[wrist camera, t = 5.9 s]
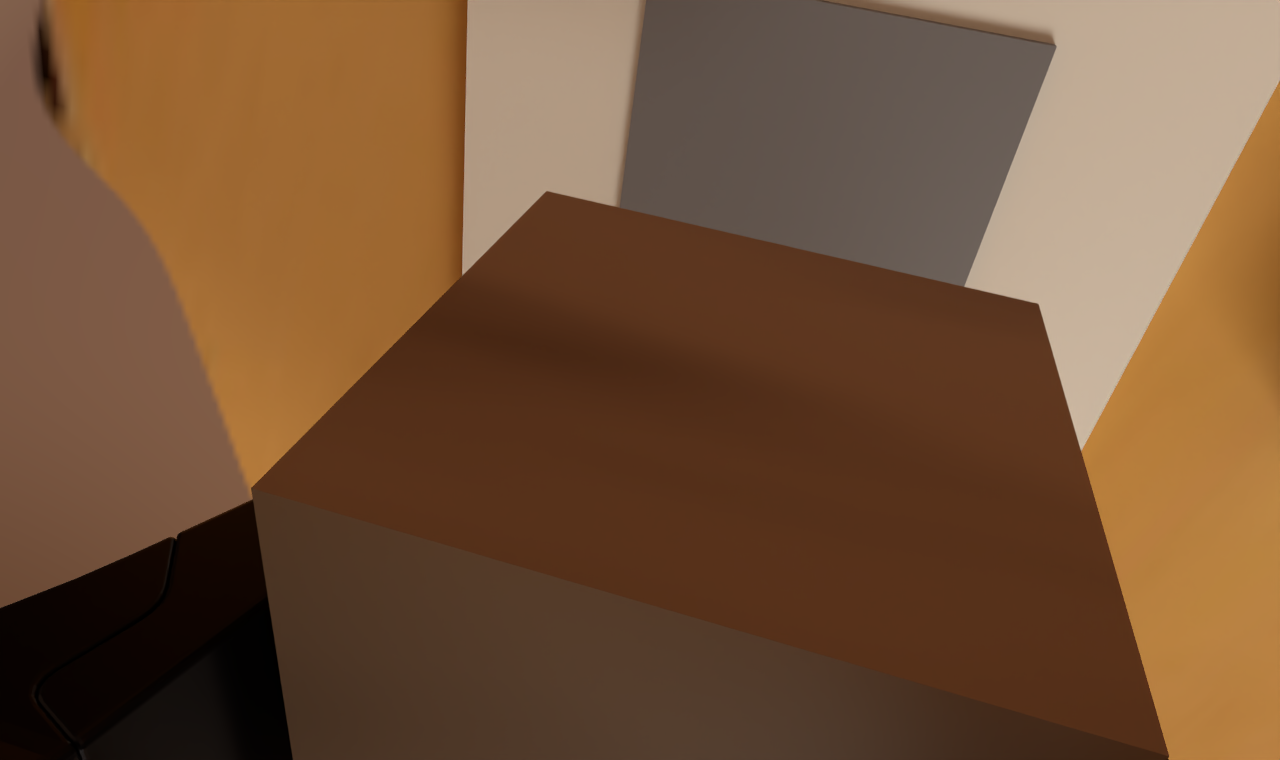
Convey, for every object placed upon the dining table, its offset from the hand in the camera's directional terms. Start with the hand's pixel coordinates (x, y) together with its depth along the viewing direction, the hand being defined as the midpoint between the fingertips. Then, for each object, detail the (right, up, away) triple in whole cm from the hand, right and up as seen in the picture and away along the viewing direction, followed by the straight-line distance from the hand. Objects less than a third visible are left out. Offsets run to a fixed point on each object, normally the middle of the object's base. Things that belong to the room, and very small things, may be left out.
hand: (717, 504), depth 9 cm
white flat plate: (+3, +5, +9) cm, 10 cm away
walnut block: (0, +1, +1) cm, 1 cm away
